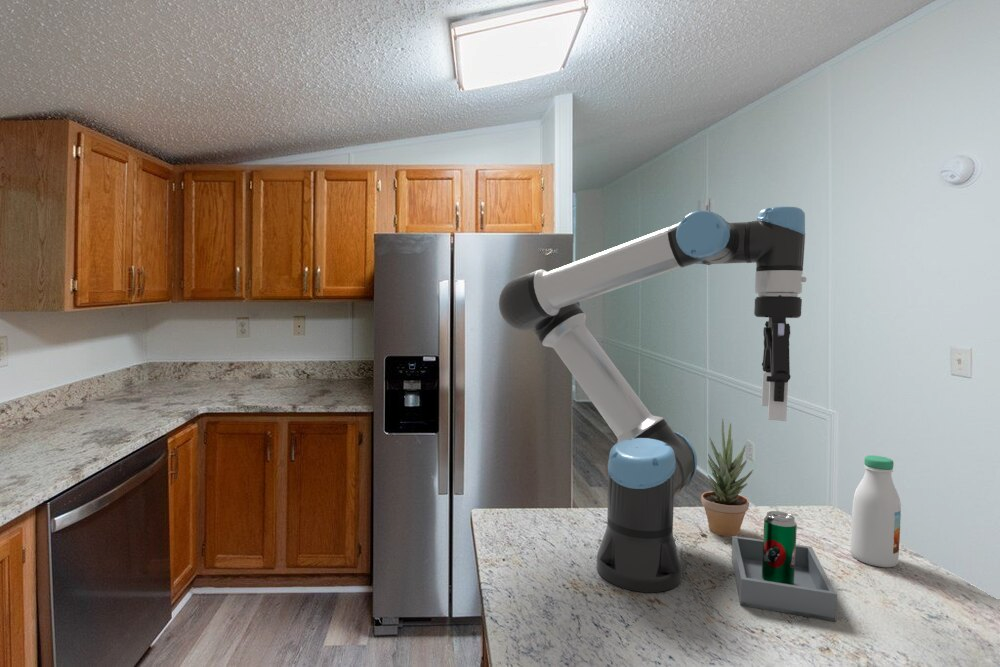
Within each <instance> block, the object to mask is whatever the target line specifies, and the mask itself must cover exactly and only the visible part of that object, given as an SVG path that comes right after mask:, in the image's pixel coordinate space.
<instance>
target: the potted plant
mask: <svg viewBox="0 0 1000 667" xmlns="http://www.w3.org/2000/svg"><path fill="white" fill-rule="evenodd" d="M709 444H710V446H711V450H712V452H713V454H714V457H715V459H716V462H717V464H718V465H717V464H716V462H714V460H713V459H712V457H711V455H710V454H709V453H707V455H708V459H707V464H708V465H709V468H710V470H711V475H712V477H713V478H712V477H711V476H710V475H709V474H708V475H707V476H708V478H709V480H710V481H711V483H712V484H713V485H712V484H711V483H709V482H708V485H709V487H710V488H711V490H712V491H711V490H710V491H705V492H703V493H702V494H701V497H700V498H701V504H702V505H703V507H704V512H705V515H706V518H707V523H708V524H707V525H708V529H709V531H710V532H711V533H714V534H717V535H718V536H721V537H732V536H736V535H737V536H739V534H740V533H741V527H742V524H743V521H744V519H745V516H746V512H747V511H748V510H749V509H750V501H749V499H748V498H747V497H745V496H743V495H741V494H740V493H741V492H742V490H743V489H744V488H745V487H746V486H747V485H748V483H745V482H746V480H748V478H749V477H750V476H751V475H752V474H753V472H754V469H752V470H751V471H749V473H748V474H747V475H745V476H743V477H742V478H739V476H740V474H741V473H742V471H743V469H744V467H745V466H746V464H747V461H748V460H747V459H746V460H744V455H745V452H746V451H745V450H746V447H747V444H744V446H743V448H742V449H741V451H740V452H739V453H738V455H737V457H735V459H734V460H733V453H734V452H733V450H734V449H733V448H734V446H733V444H734V442H733V439H732V423H731V422H730V423H729V427H728V430H727V437H726V438H725V426H724V418H722V419H721V450H722V452H718V451H717V448H716V447H715V445H714V443H713V440H712V438H711V437H709ZM721 453H722V454H721ZM743 460H744V462H743ZM738 478H739V479H738Z"/></svg>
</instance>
